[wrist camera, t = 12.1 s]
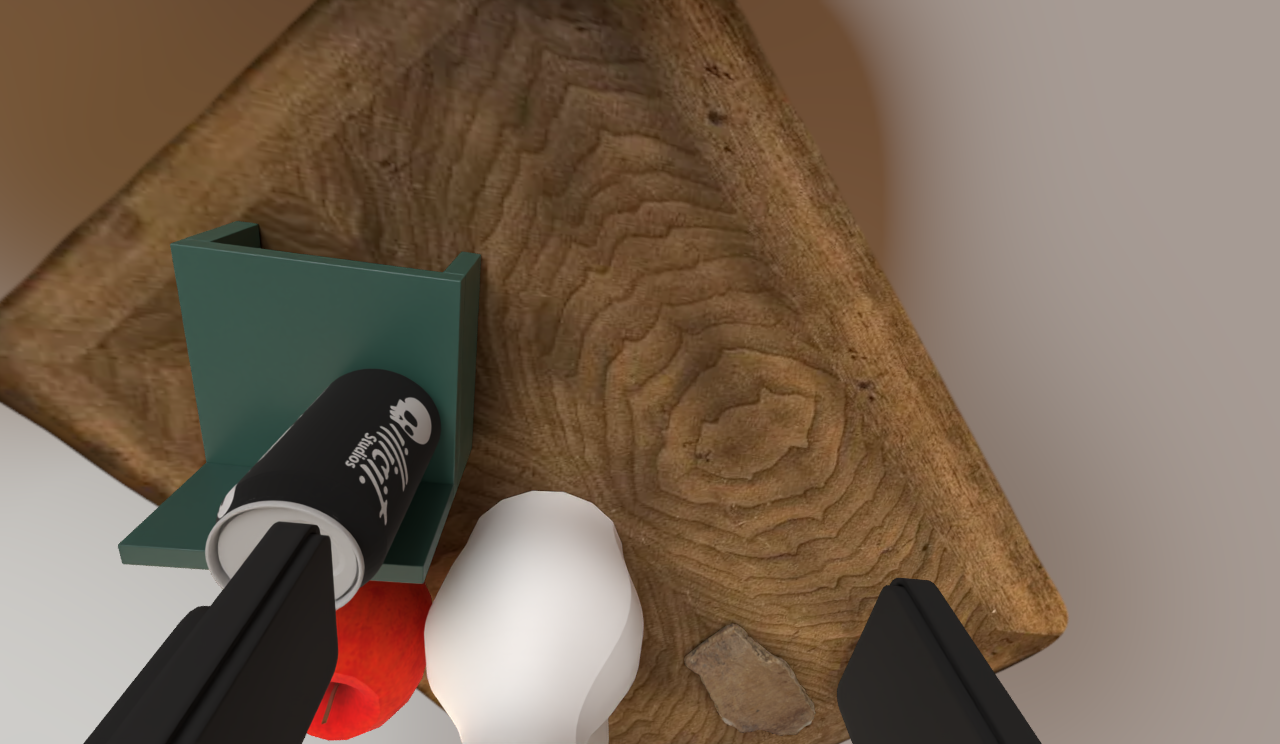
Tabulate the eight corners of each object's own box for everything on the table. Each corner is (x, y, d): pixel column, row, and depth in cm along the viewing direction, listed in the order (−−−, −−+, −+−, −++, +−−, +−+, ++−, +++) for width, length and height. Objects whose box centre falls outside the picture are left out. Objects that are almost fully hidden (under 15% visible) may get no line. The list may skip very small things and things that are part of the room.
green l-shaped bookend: (236, 220, 34) (49, 283, 23) (481, 254, 36) (426, 328, 24) (261, 428, 40) (121, 564, 28) (472, 448, 42) (423, 584, 30)
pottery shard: (832, 679, 56) (732, 616, 50) (843, 705, 54) (740, 642, 48) (766, 723, 59) (662, 668, 52) (774, 750, 56) (667, 696, 50)
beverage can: (467, 433, 34) (408, 587, 24) (374, 480, 35) (276, 649, 25) (397, 342, 32) (294, 467, 21) (299, 395, 33) (151, 541, 22)
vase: (577, 446, 42) (563, 704, 24) (667, 576, 48) (711, 864, 30) (413, 529, 44) (287, 825, 26) (518, 644, 50) (474, 953, 32)
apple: (291, 554, 45) (191, 704, 34) (399, 500, 43) (332, 637, 32) (375, 635, 49) (310, 793, 38) (477, 588, 47) (441, 737, 36)
